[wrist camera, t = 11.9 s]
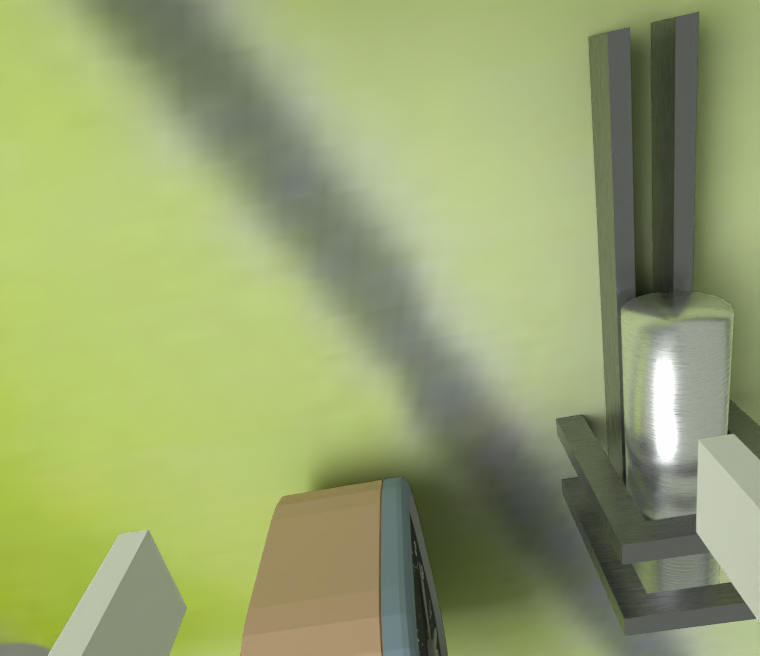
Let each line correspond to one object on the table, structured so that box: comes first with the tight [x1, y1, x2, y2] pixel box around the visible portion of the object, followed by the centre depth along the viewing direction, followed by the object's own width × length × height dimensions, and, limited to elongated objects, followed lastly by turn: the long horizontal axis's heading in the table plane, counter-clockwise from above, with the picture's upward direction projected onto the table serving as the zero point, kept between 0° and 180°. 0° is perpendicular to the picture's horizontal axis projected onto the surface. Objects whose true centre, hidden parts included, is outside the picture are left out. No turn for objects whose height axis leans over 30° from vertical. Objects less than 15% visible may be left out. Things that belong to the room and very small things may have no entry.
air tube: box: [621, 291, 734, 594], centre depth 38 cm, size 22×6×6 cm, turn 11°
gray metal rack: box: [556, 12, 760, 636], centre depth 34 cm, size 39×12×13 cm, turn 11°
